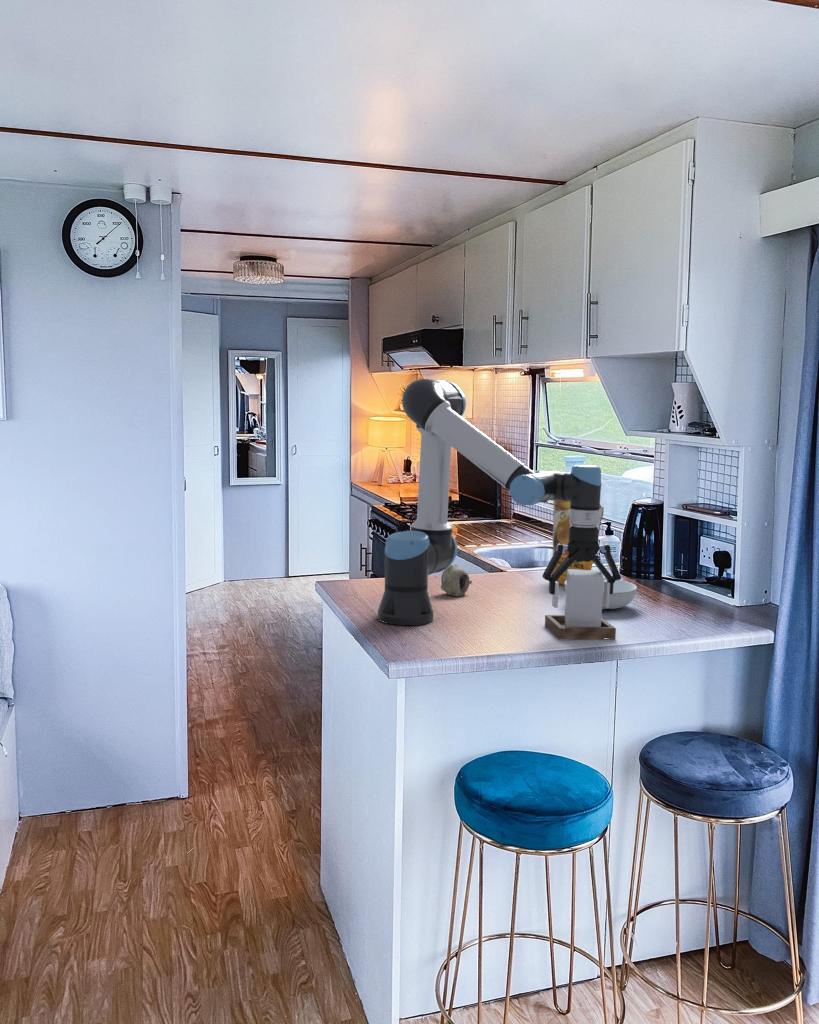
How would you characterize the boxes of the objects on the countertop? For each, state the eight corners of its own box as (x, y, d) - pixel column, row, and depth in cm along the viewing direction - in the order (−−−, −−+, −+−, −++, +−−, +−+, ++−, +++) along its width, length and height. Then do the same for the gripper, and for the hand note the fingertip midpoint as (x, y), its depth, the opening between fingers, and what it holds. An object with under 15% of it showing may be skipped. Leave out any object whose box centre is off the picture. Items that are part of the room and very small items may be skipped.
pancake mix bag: (556, 578, 295) (560, 497, 292) (601, 588, 280) (605, 503, 277) (543, 581, 291) (546, 498, 287) (587, 591, 276) (592, 504, 273)
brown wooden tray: (559, 639, 217) (560, 628, 217) (544, 625, 231) (545, 614, 231) (615, 639, 219) (615, 628, 218) (597, 624, 233) (597, 614, 233)
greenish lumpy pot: (443, 603, 265) (433, 574, 263) (447, 593, 273) (437, 564, 271) (473, 596, 263) (463, 566, 260) (475, 586, 271) (466, 557, 268)
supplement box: (601, 634, 220) (604, 576, 218) (565, 632, 221) (568, 574, 219) (598, 625, 229) (601, 569, 227) (564, 623, 230) (566, 568, 228)
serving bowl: (554, 609, 250) (555, 586, 250) (575, 596, 269) (576, 574, 268) (625, 618, 241) (627, 594, 240) (643, 604, 259) (644, 581, 258)
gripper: (540, 527, 217) (537, 610, 219) (636, 527, 219) (631, 609, 222) (532, 523, 224) (529, 603, 227) (625, 523, 227) (621, 603, 229)
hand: (580, 606), depth 224 cm, fingers open, 13 cm apart
